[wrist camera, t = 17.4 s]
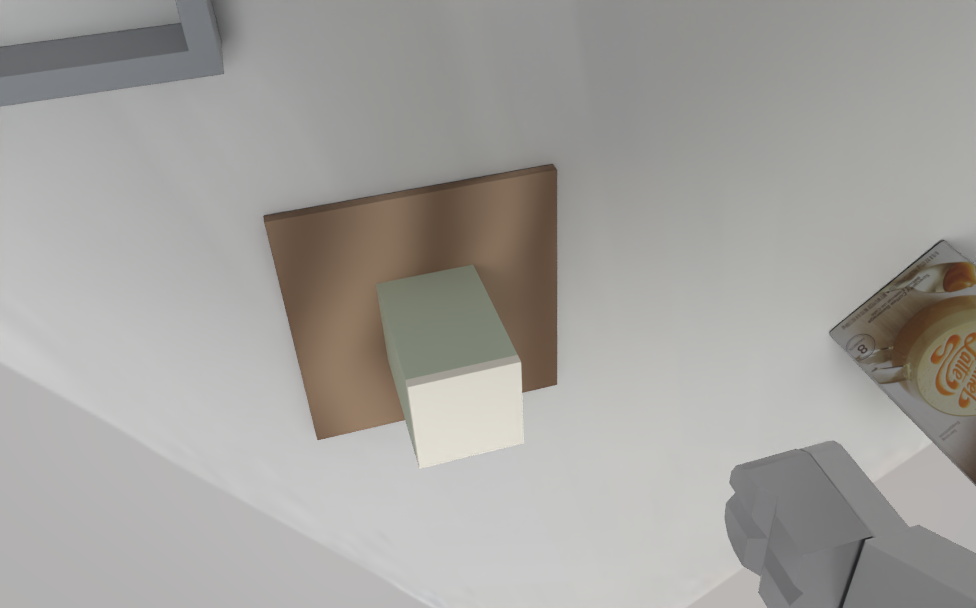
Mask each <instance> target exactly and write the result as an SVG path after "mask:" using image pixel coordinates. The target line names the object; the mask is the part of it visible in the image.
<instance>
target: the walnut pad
mask: <svg viewBox="0 0 976 608" xmlns="http://www.w3.org/2000/svg"><path fill="white" fill-rule="evenodd" d="M264 223H265V227H266V231H267V235H268V239H269V243H270V247H271V251H272V255H273V259H274V264H275V268H276V272H277V276H278V280H279V284H280V288H281V292H282V296H283V300H284V305H285V309H286V313H287V317H288V321H289V325H290V329H291V333H292V337H293V341H294V346H295V350H296V354H297V358H298V362H299V366H300V370H301V374H302V378H303V382H304V387H305V391H306V395H307V399H308V403H309V407H310V411H311V415H312V419H313V423H314V428H315V432H316V436H317V440H321V439H325V438H329V437H334V436H338V435H342V434H347V433H351V432H355V431H359V430H364V429H368V428H372V427H377V426H381V425H385V424H390V423H394V422H398V421H403V420H405V417H404V414H403V410H402V407H401V403H400V400H399V396H398V393H397V389H396V386H395V383H394V379H393V376H392V372H391V369H390V365H389V362H388V357H387V350H386V344H385V338H384V332H383V325H382V319H381V313H380V306H379V300H378V294H377V288H376V284H378V283H383V282H388V281H393V280H398V279H403V278H408V277H413V276H418V275H423V274H428V273H433V272H438V271H443V270H448V269H453V268H458V267H463V266H468V265H474V267H475V269H476V271H477V273H478V275H479V277H480V279H481V281H482V283H483V285H484V287H485V289H486V291H487V293H488V295H489V298H490V300H491V302H492V304H493V306H494V308H495V310H496V312H497V314H498V316H499V318H500V320H501V322H502V324H503V326H504V328H505V330H506V332H507V334H508V336H509V338H510V340H511V342H512V344H513V346H514V348H515V350H516V352H517V354H518V357H519V359H520V361H521V373H522V393H523V392H527V391H532V390H536V389H540V388H545V387H549V386H553V385H557V169H556V168H555V167H554V165H553V164H551V165H546V166H540V167H535V168H529V169H524V170H518V171H512V172H507V173H501V174H496V175H490V176H484V177H479V178H473V179H468V180H462V181H456V182H451V183H445V184H440V185H434V186H429V187H423V188H417V189H412V190H406V191H401V192H395V193H389V194H384V195H378V196H373V197H367V198H361V199H356V200H350V201H345V202H339V203H334V204H328V205H322V206H317V207H311V208H306V209H300V210H294V211H289V212H283V213H278V214H272V215H266V216H264Z"/></svg>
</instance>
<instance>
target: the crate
mask: <svg viewBox="0 0 976 608" xmlns="http://www.w3.org/2000/svg"><path fill="white" fill-rule="evenodd" d="M175 2H176V5H177V9H178V13H179V17H180V20H181V23H178V24H171V25H163V26H156V27H148V28H141V29H133V30H126V31H118V32H111V33H103V34H96V35H88V36H81V37H73V38H66V39H58V40H51V41H43V42H36V43H28V44H21V45H13V46H6V47H0V106H7V105H14V104H20V103H27V102H34V101H41V100H48V99H55V98H62V97H69V96H75V95H82V94H89V93H96V92H103V91H110V90H117V89H123V88H130V87H137V86H144V85H151V84H158V83H165V82H172V81H178V80H185V79H192V78H199V77H206V76H213V75H220V74H224V69H223V55H222V43H221V39H220V35H219V30H218V26H217V22H216V18H215V14H214V10H213V6H212V2H211V0H175Z"/></svg>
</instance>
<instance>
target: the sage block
mask: <svg viewBox="0 0 976 608" xmlns="http://www.w3.org/2000/svg"><path fill="white" fill-rule="evenodd" d="M376 288H377V294H378V300H379V306H380V313H381V319H382V325H383V332H384V338H385V344H386V350H387V357H388V362H389V365H390V369H391V372H392V376H393V379H394V383H395V386H396V389H397V393H398V396H399V400H400V403H401V407H402V410H403V414H404V417H405V420H406V424H407V427H408V431H409V434H410V438H411V441H412V445H413V448H414V451H415V455H416V458H417V462H418V465H419V469H421V468H425V467H429V466H433V465H437V464H441V463H445V462H449V461H453V460H457V459H461V458H466V457H470V456H474V455H478V454H482V453H486V452H490V451H494V450H498V449H502V448H506V447H510V446H515V445H519V444H523V443H524V430H523V401H522V373H521V361H520V359H519V357H518V354H517V352H516V350H515V348H514V346H513V344H512V342H511V340H510V338H509V336H508V334H507V332H506V330H505V328H504V326H503V324H502V322H501V320H500V318H499V316H498V314H497V312H496V310H495V308H494V306H493V304H492V302H491V300H490V298H489V295H488V293H487V291H486V289H485V287H484V285H483V283H482V281H481V279H480V277H479V275H478V273H477V271H476V269H475V267H474V265H468V266H463V267H458V268H453V269H448V270H443V271H438V272H433V273H428V274H423V275H418V276H413V277H408V278H403V279H398V280H393V281H388V282H383V283H378V284H376Z"/></svg>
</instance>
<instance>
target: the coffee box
mask: <svg viewBox="0 0 976 608" xmlns="http://www.w3.org/2000/svg"><path fill="white" fill-rule="evenodd" d="M830 335H831V336H832V338H833V339H834V340H835V341H836V342H837V343H838V344H839V345H840V346H841V347H842V348H843V349H844V350H845V351H846V352H847V353H848V355H849V356H850V357H851V358H852V359H853V360H854V361H855V362H856V363H857V364H858V365H859V366H860V367H861V368H862V369H863V371H864V372H865V373H866V374H867V375H868V376H869V377H870V378H871V379H872V380H873V381H874V382H875V383H876V384H877V385H878V386H879V387H880V388H881V389H882V390H883V391H884V392H885V393H886V394H887V396H888V397H889V398H890V399H891V400H892V401H893V402H894V403H895V404H896V405H897V406H898V407H899V408H900V409H901V410H902V411H903V412H904V413H905V414H906V415H907V416H908V417H909V418H910V419H911V420H912V421H913V422H914V423H915V424H916V425H917V426H918V427H919V428H920V429H921V430H922V431H923V432H924V433H925V435H926V436H927V437H928V438H929V439H930V440H931V441H932V442H933V443H934V444H935V445H936V446H937V447H938V448H939V449H940V450H941V451H942V452H943V453H944V454H945V455H946V456H947V457H948V458H949V459H950V460H951V461H952V462H953V463H954V464H955V465H956V466H957V467H958V468H959V469H960V470H961V471H962V472H963V474H964V475H965V476H967V478H968V479H969V480H970V481H971V482H972V483H973V484H974V485H975V486H976V265H974V264H973V263H971V262H970V261H969V260H967V259H966V258H965V257H964V256H962V255H961V254H960V253H958V252H957V251H956V250H955V249H954V248H952V247H951V246H950V245H949V244H948V243H947V242H946V241H942V242H940V243H939V244H938V245H936V246H935V247H934V248H933V249H932V250H930V251H929V252H928V253H927V254H925V255H924V256H923V257H922V258H920V259H919V260H918V261H917V262H915V263H914V264H913V265H912V266H910V267H909V268H908V269H907V270H905V271H904V272H903V273H902V274H901V275H899V276H898V277H897V278H896V279H895V280H893V281H892V282H891V283H890V284H888V285H887V286H886V287H885V288H883V289H882V290H881V291H880V292H879V293H877V294H876V295H875V296H874V297H872V298H871V299H870V300H869V301H867V302H866V303H865V304H864V305H862V306H861V307H860V308H859V309H858V310H856V311H855V312H854V313H853V314H851V315H850V316H849V317H848V318H846V319H845V320H844V321H843V322H842V323H840V324H839V325H838V326H837V327H836V328H834V329H833V330H832V331H831V332H830Z"/></svg>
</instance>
